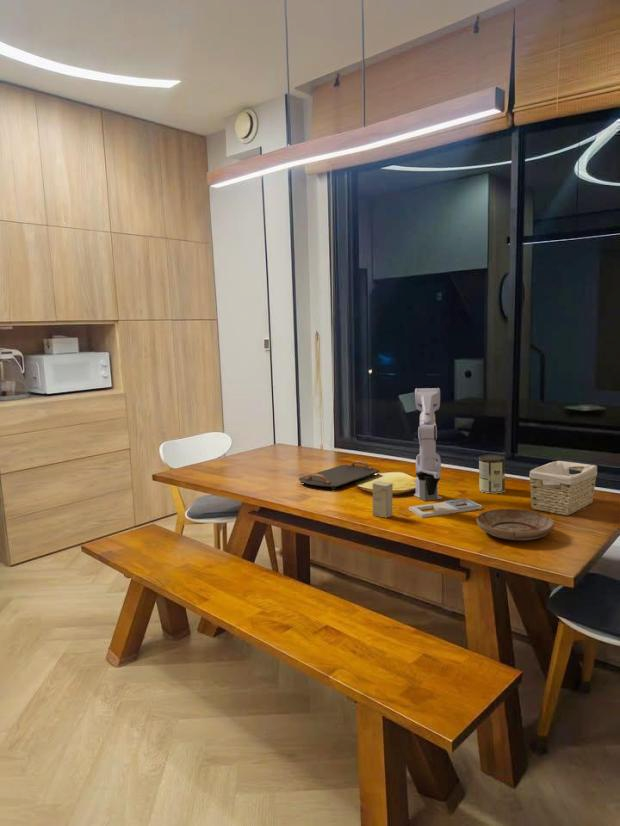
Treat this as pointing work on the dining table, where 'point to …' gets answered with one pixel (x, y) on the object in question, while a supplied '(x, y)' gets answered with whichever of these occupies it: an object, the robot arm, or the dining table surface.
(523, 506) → the dining table surface
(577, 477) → the storage basket
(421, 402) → the robot arm
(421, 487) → the plug
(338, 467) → the serving board
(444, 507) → the two-tone slotted frame
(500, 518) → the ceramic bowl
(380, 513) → the skincare box
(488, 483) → the coffee can
